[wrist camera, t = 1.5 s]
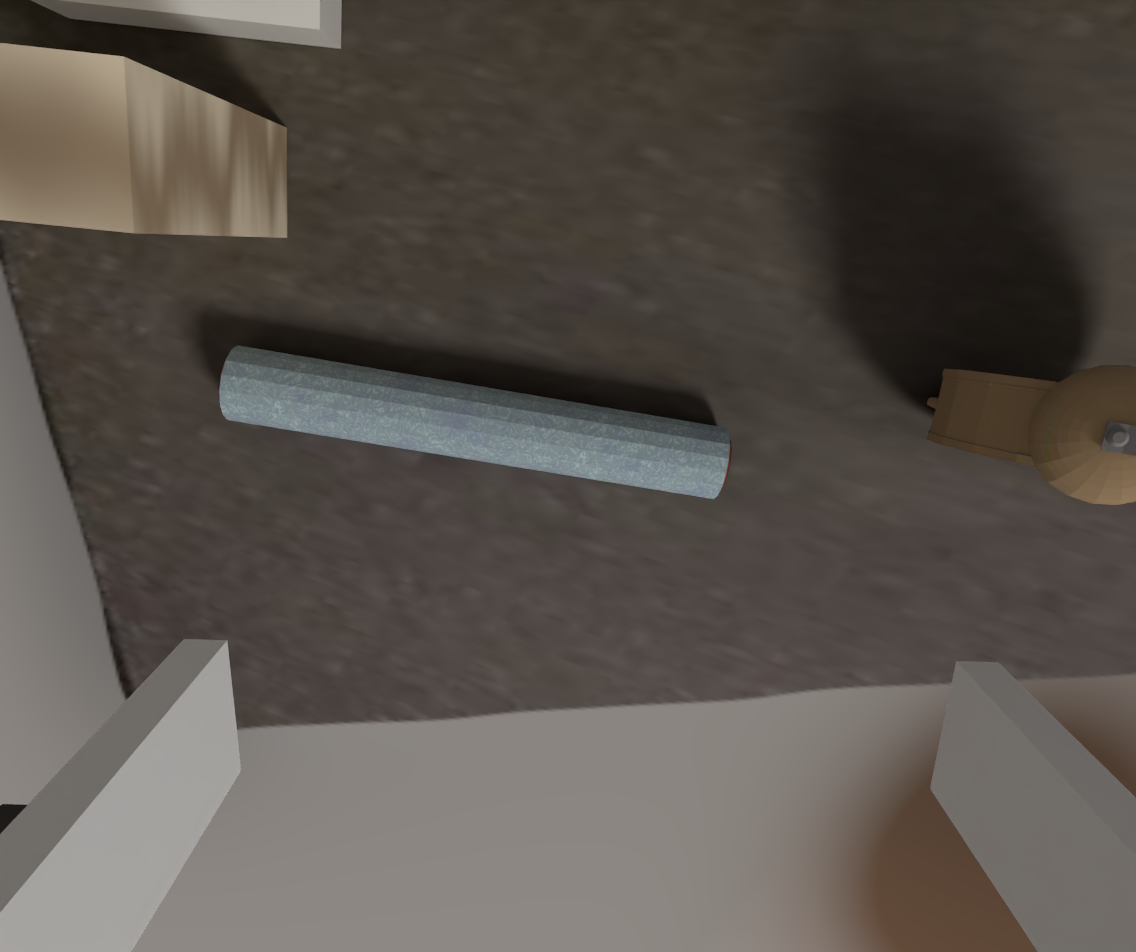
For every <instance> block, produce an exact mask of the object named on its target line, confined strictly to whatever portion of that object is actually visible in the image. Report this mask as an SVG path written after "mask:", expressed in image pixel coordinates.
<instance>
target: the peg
mask: <svg viewBox="0 0 1136 952" xmlns="http://www.w3.org/2000/svg"><path fill="white" fill-rule="evenodd" d="M0 220H7V221H17V222H27V223H37V224H47V225H57V226H67V227H77V228H87V229H97V230H107V231H117V232H127V233H143V234H177V235H211V236H244V237H278V238H287V128H286V127H284V126H282V125H279V124H277V123H275V122H272V121H270V120H268V119H266V118H263V117H261V116H259V115H256V114H254V113H252V112H250V111H247V110H245V109H243V108H240V107H238V106H236V105H234V104H231V103H229V102H227V101H224V100H222V99H220V98H218V97H215V96H213V95H211V94H208V93H206V92H204V91H202V90H199V89H197V88H195V87H192V86H190V85H188V84H186V83H183V82H181V81H179V80H176V79H174V78H172V77H170V76H167V75H165V74H163V73H160V72H158V71H156V70H154V69H151V68H149V67H147V66H144V65H142V64H140V63H138V62H135V61H133V60H131V59H128V58H126V57H123V56H114V55H105V54H96V53H87V52H78V51H69V50H60V49H50V48H41V47H32V46H23V45H14V44H5V43H0Z"/></svg>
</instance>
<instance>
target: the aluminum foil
mask: <svg viewBox="0 0 1136 952" xmlns="http://www.w3.org/2000/svg"><path fill="white" fill-rule="evenodd" d="M219 400H220V406H221V410H222V413H223V415H224V416H225V418H226V419H227V420H232V421H238V422H244V423H250V424H256V425H262V426H268V427H275V428H281V429H287V430H293V431H299V432H305V433H311V434H318V435H324V436H330V437H336V438H342V439H348V440H354V441H361V442H367V443H373V444H379V445H385V446H391V447H397V448H404V449H410V450H416V451H422V452H428V453H434V454H440V455H447V456H453V457H459V458H465V459H471V460H477V461H483V462H490V463H496V464H502V465H508V466H514V467H520V468H526V469H533V470H539V471H545V472H551V473H557V474H563V475H569V476H576V477H582V478H588V479H594V480H600V481H606V482H612V483H619V484H625V485H631V486H637V487H643V488H649V489H655V490H662V491H668V492H674V493H680V494H686V495H692V496H698V497H705V498H711V499H714V498H715V497H717V496H718V494H719V492H720V490H721V489H722V488H723V486H724V484H725V482H726V479H727V475H728V472H729V467H730V461H731V440H730V436H729V432H728V429H727V428H724V427H719V426H713V425H707V424H701V423H695V422H689V421H683V420H677V419H671V418H665V417H659V416H653V415H647V414H641V413H636V412H630V411H624V410H618V409H612V408H606V407H600V406H594V405H588V404H582V403H576V402H570V401H564V400H558V399H553V398H547V397H541V396H535V395H529V394H523V393H517V392H511V391H505V390H499V389H493V388H487V387H481V386H475V385H470V384H464V383H458V382H452V381H446V380H440V379H434V378H428V377H422V376H416V375H410V374H404V373H398V372H393V371H387V370H381V369H375V368H369V367H363V366H357V365H351V364H345V363H339V362H333V361H327V360H321V359H315V358H310V357H304V356H298V355H292V354H286V353H280V352H274V351H268V350H262V349H256V348H250V347H244V346H238V345H237V346H236V347H234V348H233V349H232V350H231V351H230V353H229V355H228V357H227V358H226V360H225V363H224V365H223V368H222V371H221V374H220V380H219Z"/></svg>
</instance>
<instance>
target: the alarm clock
mask: <svg viewBox="0 0 1136 952" xmlns="http://www.w3.org/2000/svg"><path fill="white" fill-rule="evenodd" d="M942 377H943V381H942V385H941V389H940V393H939V397H938V398H935V397H930V398H929V399H928V401H927V405H929V406H931V407H933V408H935V409H936V410H935V414H934V418H933V422H932V426H931V430H929V433H928V437H927V440H930V441H933V442H936V443H939V444H942V445H945V446H949V447H953V448H957V449H961V450H965V451H969V452H973V453H977V454H981V455H986V456H990V457H995V458H999V459H1004V460H1008V461H1013V462H1017V463H1022V464H1027V465H1032V466H1036V467H1037V469H1038V470H1039V471H1040V473H1041V474H1042V475H1043V477H1044V478H1045V480H1046V481H1047V482H1049V483H1050V484H1051V485H1053V486H1054V487H1056V488H1057V489H1058V490H1060V491H1061V492H1063V493H1064V494H1065V495H1068V496H1071V497H1074V498H1077V499H1080V500H1083V501H1086V502H1089V503H1095V504H1111V505H1119V504H1124V503H1129V502H1134V501H1136V367H1133V366H1129V365H1101V366H1097V367H1094V368H1090V369H1086V370H1082V371H1079V372H1076V373H1074V374H1072V375H1071V376H1069V377H1067V378H1065V379H1064V380H1062V381H1060V382H1054V381H1047V380H1040V379H1032V378H1024V377H1016V376H1008V375H1001V374H993V373H984V372H975V371H967V370H957V369H944V370H943V375H942Z"/></svg>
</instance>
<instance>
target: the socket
mask: <svg viewBox="0 0 1136 952" xmlns="http://www.w3.org/2000/svg"><path fill="white" fill-rule="evenodd" d="M31 1H33V2H35V3H37V4H40V5H42V6H44V7H46V8H48V9H50V10H53V11H55V12H57V13H59V14H61V15H63V16H65V17H68V18H70V19H78V20H87V21H96V22H105V23H114V24H123V25H132V26H141V27H150V28H159V29H168V30H177V31H186V32H195V33H204V34H213V35H221V36H230V37H239V38H248V39H257V40H266V41H275V42H284V43H293V44H302V45H311V46H320V47H329V48H338V49H341V9H342V0H31Z"/></svg>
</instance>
